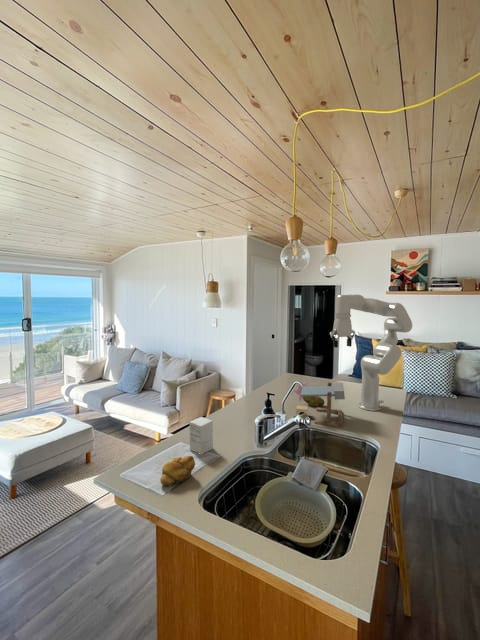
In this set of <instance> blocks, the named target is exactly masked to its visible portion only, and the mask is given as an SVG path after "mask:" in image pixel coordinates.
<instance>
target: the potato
mask: <svg viewBox="0 0 480 640" xmlns="http://www.w3.org/2000/svg"><path fill="white" fill-rule="evenodd" d="M302 397H303V399H302V400H303V401H304V402H305V403H306V404H309V405H310V406H312V407H322V406H324V404H325V400H324V398H322V396H302Z"/></svg>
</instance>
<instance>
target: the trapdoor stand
mask: <svg viewBox="0 0 480 640" xmlns="http://www.w3.org/2000/svg"><path fill="white" fill-rule="evenodd" d="M327 386H332V382H327ZM331 393H332V392H327V396H326V397H327V398H326V402H327V403H326V408H324V407H319V406H316V412H323V413H326V419H317V418H316V419H314V425H324V426H331V427H332V426H333V427H341V428H343V427H344V423H343V421H344V420H343V413H342V412H343V411H342V409H337V408H336V409H335V408H332V396H331ZM332 414H337V417H338V419H337V420H338V421H334V420H332Z"/></svg>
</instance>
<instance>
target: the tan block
mask: <svg viewBox="0 0 480 640" xmlns="http://www.w3.org/2000/svg"><path fill="white" fill-rule="evenodd" d="M300 412H304V413H306V414H307V415H308V416H309V406H305V405H296V407H295V416H296V415H297V414H299V413H300Z"/></svg>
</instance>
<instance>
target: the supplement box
mask: <svg viewBox="0 0 480 640" xmlns="http://www.w3.org/2000/svg"><path fill="white" fill-rule="evenodd" d="M213 421H214V420H212V419H209V418H206V417H202V416H200V417H197V418H196V419H194V420H191V421H189V450H190V451H191V452H194V451H195V452H194V453H196V452H197V454H198V453H200V454H202V455H203V453H204V454H205V452H206V453H208V452H209V451H211V450H212V449H213V448H214V437H213V436H214V434H213V432H214V431H213V430H214V426H213ZM200 454H199V455H200Z"/></svg>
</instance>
